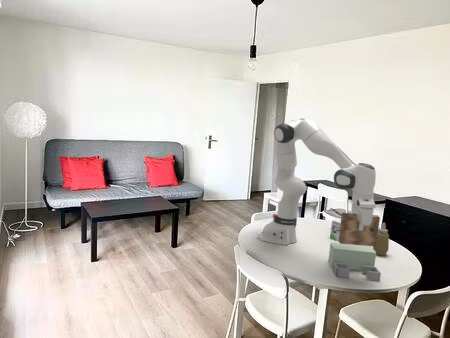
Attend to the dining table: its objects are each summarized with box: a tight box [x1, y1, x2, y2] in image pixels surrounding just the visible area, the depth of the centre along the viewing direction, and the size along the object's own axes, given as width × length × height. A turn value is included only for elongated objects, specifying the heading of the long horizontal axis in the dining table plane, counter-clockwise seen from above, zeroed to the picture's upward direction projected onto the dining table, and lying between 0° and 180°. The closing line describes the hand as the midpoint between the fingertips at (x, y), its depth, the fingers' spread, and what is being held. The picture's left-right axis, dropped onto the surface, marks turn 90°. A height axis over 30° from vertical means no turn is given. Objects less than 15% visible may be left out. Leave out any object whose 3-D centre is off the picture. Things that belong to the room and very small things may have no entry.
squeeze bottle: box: [372, 222, 390, 257], centre depth 182 cm, size 8×8×18 cm
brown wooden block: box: [338, 212, 381, 247], centre depth 152 cm, size 16×4×14 cm, turn 82°
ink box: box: [329, 218, 341, 242], centre depth 202 cm, size 9×5×12 cm, turn 48°
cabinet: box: [327, 242, 382, 282], centre depth 161 cm, size 17×20×10 cm
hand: (359, 228), depth 152 cm, fingers closed on brown wooden block, 3 cm apart
